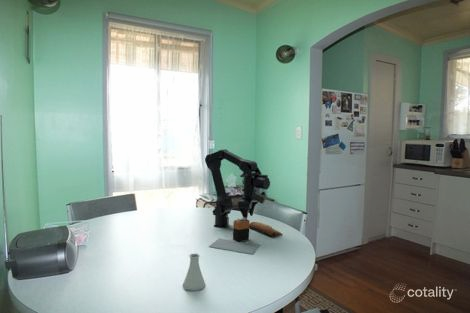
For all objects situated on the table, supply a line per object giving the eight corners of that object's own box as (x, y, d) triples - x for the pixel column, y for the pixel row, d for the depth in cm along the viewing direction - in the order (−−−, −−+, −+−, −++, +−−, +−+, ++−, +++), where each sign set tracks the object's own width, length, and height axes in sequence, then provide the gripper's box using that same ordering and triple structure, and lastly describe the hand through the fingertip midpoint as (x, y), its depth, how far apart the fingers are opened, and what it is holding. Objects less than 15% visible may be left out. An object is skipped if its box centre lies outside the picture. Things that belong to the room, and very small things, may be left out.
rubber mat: (208, 247, 125) (208, 246, 125) (219, 238, 135) (219, 238, 135) (252, 254, 118) (252, 253, 118) (260, 245, 128) (260, 244, 128)
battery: (249, 239, 135) (250, 218, 134) (238, 242, 130) (239, 220, 130) (242, 237, 138) (243, 216, 138) (232, 240, 133) (233, 218, 133)
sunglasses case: (285, 234, 143) (280, 224, 140) (276, 244, 139) (271, 234, 137) (260, 225, 157) (256, 216, 155) (251, 234, 154) (247, 224, 151)
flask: (183, 280, 96) (184, 250, 95) (205, 280, 96) (206, 250, 96) (181, 292, 89) (181, 260, 88) (205, 291, 89) (205, 259, 89)
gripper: (260, 191, 131) (259, 225, 132) (269, 185, 148) (269, 215, 149) (236, 189, 135) (236, 222, 136) (249, 183, 152) (248, 212, 153)
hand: (248, 218), depth 143 cm, fingers open, 9 cm apart
